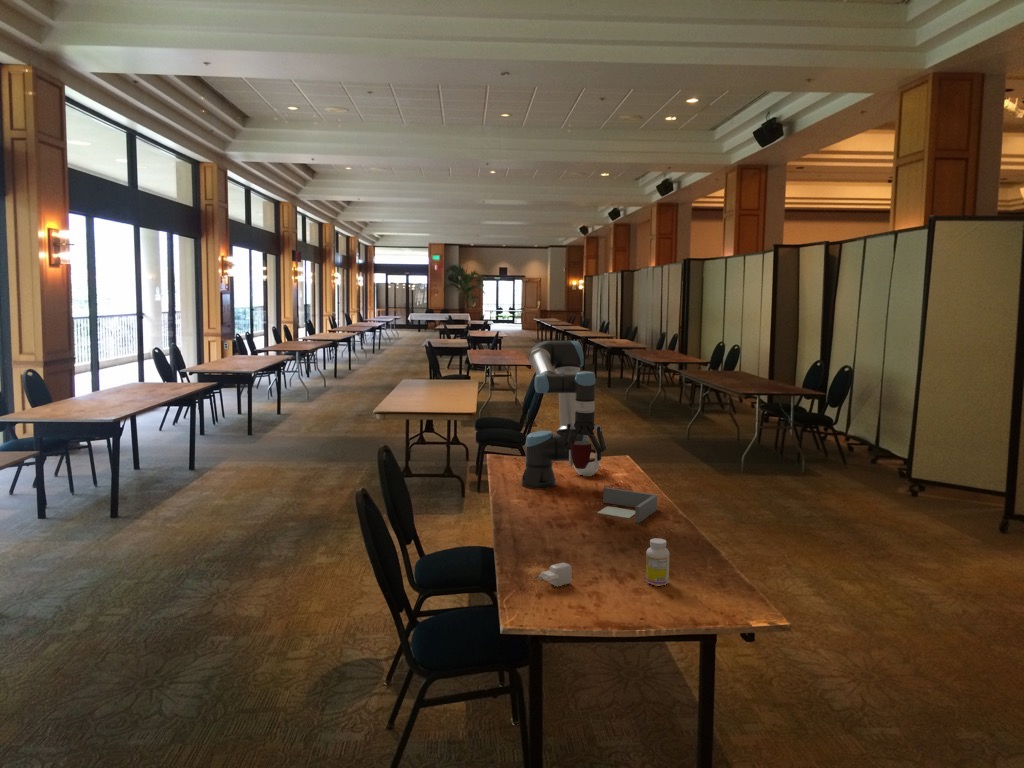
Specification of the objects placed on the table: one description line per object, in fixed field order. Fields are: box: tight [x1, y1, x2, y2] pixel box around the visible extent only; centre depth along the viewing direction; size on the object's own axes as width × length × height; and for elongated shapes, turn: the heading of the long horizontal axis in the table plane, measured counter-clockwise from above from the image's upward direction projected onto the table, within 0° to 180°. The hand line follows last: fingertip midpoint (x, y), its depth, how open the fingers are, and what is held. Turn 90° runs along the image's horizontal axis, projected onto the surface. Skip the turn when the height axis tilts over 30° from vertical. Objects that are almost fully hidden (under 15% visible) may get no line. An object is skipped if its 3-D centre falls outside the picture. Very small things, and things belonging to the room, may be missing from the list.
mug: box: [571, 440, 597, 469], centre depth 298 cm, size 10×8×10 cm
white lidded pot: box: [572, 452, 601, 477], centre depth 352 cm, size 13×13×11 cm
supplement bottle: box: [645, 537, 670, 585], centre depth 222 cm, size 7×7×13 cm
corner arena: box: [597, 486, 658, 524], centre depth 293 cm, size 22×20×6 cm
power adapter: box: [534, 562, 573, 587], centre depth 219 cm, size 11×5×6 cm, turn 122°
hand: (583, 467), depth 299 cm, fingers closed on mug, 10 cm apart
